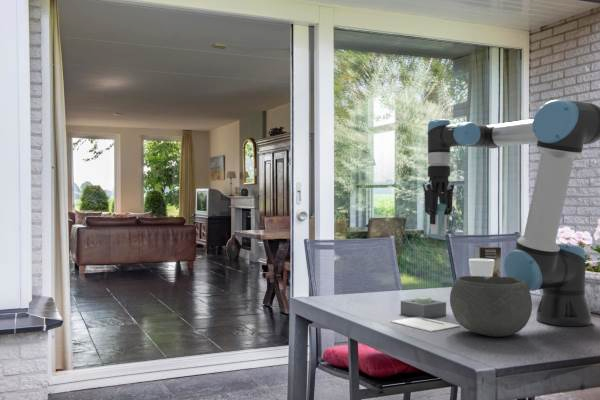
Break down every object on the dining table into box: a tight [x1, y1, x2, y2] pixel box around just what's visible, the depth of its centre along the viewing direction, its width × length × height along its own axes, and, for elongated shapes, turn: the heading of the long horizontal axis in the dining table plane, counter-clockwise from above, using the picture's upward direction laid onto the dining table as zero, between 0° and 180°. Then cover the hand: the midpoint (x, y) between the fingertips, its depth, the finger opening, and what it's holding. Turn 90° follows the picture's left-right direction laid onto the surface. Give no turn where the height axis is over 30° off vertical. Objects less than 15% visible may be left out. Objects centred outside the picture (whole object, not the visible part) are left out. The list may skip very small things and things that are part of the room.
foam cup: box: [468, 258, 494, 277], centre depth 235 cm, size 10×9×13 cm
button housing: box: [400, 298, 447, 319], centre depth 193 cm, size 10×10×4 cm
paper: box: [390, 316, 461, 333], centre depth 178 cm, size 16×12×1 cm
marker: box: [426, 201, 446, 245], centre depth 210 cm, size 4×4×14 cm
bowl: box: [449, 275, 533, 338], centre depth 165 cm, size 21×21×15 cm
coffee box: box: [474, 245, 502, 277], centre depth 259 cm, size 9×6×16 cm
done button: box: [414, 296, 432, 304], centre depth 193 cm, size 5×5×5 cm
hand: (438, 233), depth 209 cm, fingers closed on marker, 3 cm apart
